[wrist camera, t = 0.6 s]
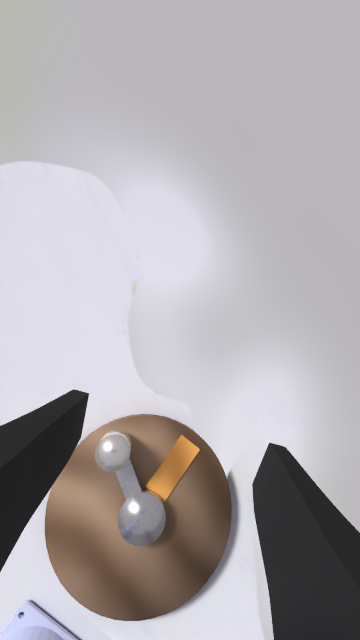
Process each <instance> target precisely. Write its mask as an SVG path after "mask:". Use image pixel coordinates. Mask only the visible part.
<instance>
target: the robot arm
mask: <svg viewBox="0 0 360 640" xmlns="http://www.w3.org/2000/svg"><path fill="white" fill-rule="evenodd" d="M88 396H89V393H85V392H81V391H78V390H72V391H70V392H68V393H66V394H64V395H62V396H60V397H59V398H57V399H55V400H53V401H51V402H49V403H47V404H46V405H44V406H42V407H40V408H38V409H36V410H34V411H32V412H30V413H28V414H26V415H24V416H21V417H19V418H17V419H15V420H13V421H11V422H8V423H6V424H4V425H2V426H0V571H1V570H2V568H3V566H4V564H5V562H6V560H7V558H8V557H9V555H10V553H11V551H12V549H13V548H14V546H15V544H16V542H17V540H18V539H19V537H20V535H21V533H22V531H23V530H24V528H25V526H26V525H27V523H28V522H29V520H30V518H31V517H32V515H33V514H34V512H35V511H36V509H37V508H38V506H39V505H40V503H41V502H42V500H43V499H44V497H45V496H46V494H47V493H48V491H49V490H50V488H51V487H52V485H53V484H54V482H55V481H56V479H57V478H58V476H59V475H60V473H61V472H62V470H63V469H64V467H65V466H66V464H67V463H68V461H69V459H70V457H71V456H72V454H73V452H74V450H75V448H76V446H77V444H78V442H79V440H80V438H81V434H82V429H83V423H84V418H85V412H86V407H87V401H88ZM253 502H254V513H255V519H256V524H257V530H258V535H259V541H260V546H261V551H262V556H263V561H264V567H265V572H266V577H267V582H268V589H269V596H270V604H271V614H272V624H273V633H274V640H360V533H359V532H358V531H357V530H356V529H355V527H354V526H353V525H351V523H350V522H349V521H348V520H347V519H346V518H345V517H344V516H343V515H342V514H341V512H340V511H339V510H338V509H337V508H336V507H335V506H334V505H333V504H332V502H331V501H330V500H329V499H328V498H327V497H326V496H325V494H324V493H323V492H322V491H321V490H320V488H319V487H318V486H317V485H316V484H315V482H314V481H313V480H312V479H311V478H310V476H309V475H308V474H307V473H306V471H304V469H303V468H302V467H301V466H300V464H299V463H298V462H297V460H296V459H295V458H294V457H293V456H292V454H291V453H290V452H289V451H288V450H287V449H286V448H285V447H283V446H280V445H276V444H272V443H269V445H268V447H267V450H266V452H265V455H264V457H263V460H262V462H261V464H260V467H259V469H258V472H257V474H256V477H255V479H254V481H253ZM20 612H23V613H24V615H20ZM0 640H78V639H77V638H75V637H74V636H73V635H72V634H70V633H69V632H68V631H67V630H65V629H64V628H63V627H62V626H60V625H59V624H58V623H57V622H55V621H54V620H53V619H52V618H50V617H49V616H48V615H47V614H45V613H44V612H43V611H42V610H40V609H39V608H38V607H37V606H35V605H34V604H33V603H32V602H30V601H24V602H23V603H22V604H21V606H20V607H19V608H18V610H17V611H16V613H15V614H14V615H13V617H12V618H11V619H10V621H9V622H8V623H7V625H6V626H5V628H4V629H3V630H2V632H1V633H0Z"/></svg>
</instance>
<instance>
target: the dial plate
mask: <svg viewBox="0 0 360 640" xmlns="http://www.w3.org/2000/svg"><path fill="white" fill-rule="evenodd" d="M114 429H119V430H122V431H124V432H126V433H127V434H128V436H129V437H130V440H131V452H130V459H131V461H132V464H133V467H134V469H135V472H136V475H137V477H138V480H139V483H140V485H141V488H142V489H149V490H152V491H154V492H155V493H156V494H158V495H159V497H160V498H161V500H162V502H163V504H164V508H165V514H166V522H165V526H164V529H163V531H162V533H161V535H160V536H159V537H158V538H157V539H156V540H155V541H154V542H152V543H151V544H149V545H146V546H134V545H132V544H129V543H128V542H127V541H126V540H124V538H123V537H122V535H121V534H120V531H119V528H118V516H119V510H120V507H121V504H122V502H123V500H124V499H125V496H124V494H123V491H122V488H121V485H120V483H119V480H118V477H117V474H116V472H107V471H105V470H103V469H101V468H100V467H99V466H98V464H97V462H96V459H95V451H96V447H97V445H98V444H99V442H100V440H101V439H102V437H103V436H104V435H105V434H106V433H107V432H108V431H110V430H114ZM230 523H231V497H230V491H229V486H228V481H227V479H226V476H225V473H224V470H223V468H222V466H221V464H220V462H219V460H218V458H217V457H216V455H215V453H214V452H213V450H212V449H211V448H210V447H209V446H208V444H207V443H206V442H205V441H204V440H203V439H202V438H201V437H200V436H199V435H198V434H196V433H195V432H194V431H193V430H192V429H190V428H189V427H187V426H186V425H184V424H182V423H180V422H178V421H176V420H173V419H170V418H167V417H164V416H158V415H148V414H141V415H131V416H127V417H122V418H119V419H117V420H114V421H111V422H109V423H107V424H105V425H103V426H101V427H100V428H98V429H97V430H95V431H94V432H92V433H91V434H90V435H89V436H88V437H86V438H85V439H84V440H83V441H82V442H81V443H80V444H79V445H78V446H77V447H76V448H75V450H74V452H73V454H72V456H71V457H70V459H69V461H68V463H67V464H66V466H65V467H64V469H63V470H62V472H61V473H60V475H59V476H58V478H57V479H56V481H55V482H54V484H53V486H52V488H51V491H50V495H49V499H48V502H47V508H46V515H45V538H46V546H47V550H48V554H49V558H50V561H51V564H52V566H53V569H54V571H55V573H56V575H57V577H58V579H59V580H60V582H61V584H62V585H63V586H64V588H65V589H66V590H67V591H68V593H69V594H70V595H71V596H72V597H73V598H74V599H75V600H76V601H78V602H79V603H80V604H81V605H83V606H84V607H86V608H87V609H89V610H90V611H92V612H94V613H97V614H99V615H101V616H104V617H107V618H111V619H114V620H123V621H140V620H146V619H151V618H155V617H158V616H161V615H164V614H166V613H168V612H170V611H172V610H174V609H176V608H178V607H179V606H181V605H182V604H184V603H185V602H187V601H188V600H189V599H190V598H191V597H193V596H194V595H195V594H196V593H197V592H198V591H199V590H200V589H201V588H202V587H203V585H204V584H205V583H206V582H207V581H208V579H209V578H210V576H211V575H212V573H213V572H214V570H215V569H216V567H217V565H218V563H219V561H220V559H221V557H222V554H223V552H224V549H225V547H226V543H227V539H228V535H229V531H230Z"/></svg>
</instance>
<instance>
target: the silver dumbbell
mask: <svg viewBox="0 0 360 640" xmlns="http://www.w3.org/2000/svg"><path fill="white" fill-rule="evenodd" d="M130 452H131V440H130V437H129V436H128V434H127V433H126V432H124V431H122V430H119V429H114V430H110V431H108V432H107V433H106V434H105V435H104V436H103V437H102V439H101V440H100V442H99V444H98V445H97V447H96V451H95V459H96V462H97V464H98V466H99V467H100V468H101V469H103V470H105V471H107V472H116V474H117V477H118V480H119V483H120V485H121V488H122V491H123V494H124V496H125V499H124V500H123V502H122V504H121V507H120V510H119V516H118V528H119V531H120V534H121V535H122V537H123V538H124V540H126V541H127V542H128V543H129V544H132V545H134V546H146V545H149V544H151V543H152V542H154V541H155V540H156V539H157V538H158V537H159V536H160V535H161V533H162V531H163V529H164V526H165V522H166V514H165V508H164V504H163V502H162V500H161V498H160V497H159V495H158V494H156V493H155V492H154V491H152V490H149V489H142V488H141V485H140V483H139V480H138V477H137V475H136V472H135V469H134V467H133V464H132V461H131V459H130Z"/></svg>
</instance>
